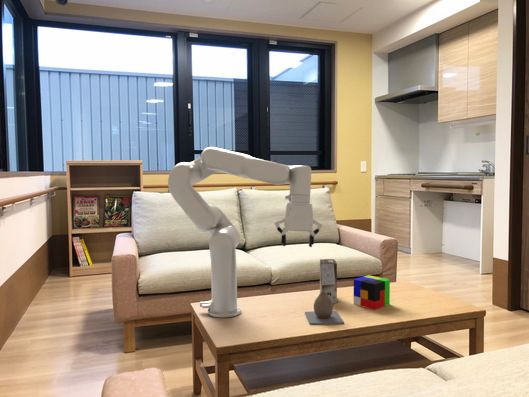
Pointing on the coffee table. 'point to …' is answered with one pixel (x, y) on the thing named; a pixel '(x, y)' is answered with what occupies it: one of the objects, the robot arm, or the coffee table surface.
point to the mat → (315, 320)
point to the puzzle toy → (371, 292)
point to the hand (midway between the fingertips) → (297, 246)
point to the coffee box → (328, 278)
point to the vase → (323, 306)
